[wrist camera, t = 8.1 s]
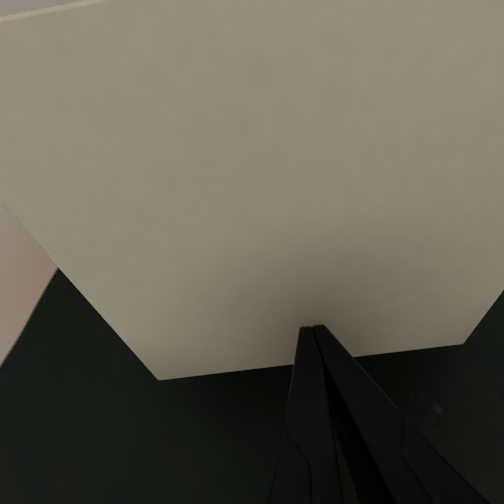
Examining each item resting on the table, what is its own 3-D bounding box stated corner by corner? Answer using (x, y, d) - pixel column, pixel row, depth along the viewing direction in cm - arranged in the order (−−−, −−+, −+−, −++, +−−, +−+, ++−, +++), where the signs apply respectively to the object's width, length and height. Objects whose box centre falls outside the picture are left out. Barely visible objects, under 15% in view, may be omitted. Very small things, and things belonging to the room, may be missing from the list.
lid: (-102, 41, 5) (-142, 44, 4) (759, -130, 4) (838, -153, 4) (160, 367, 13) (157, 381, 13) (454, 331, 13) (463, 344, 12)
